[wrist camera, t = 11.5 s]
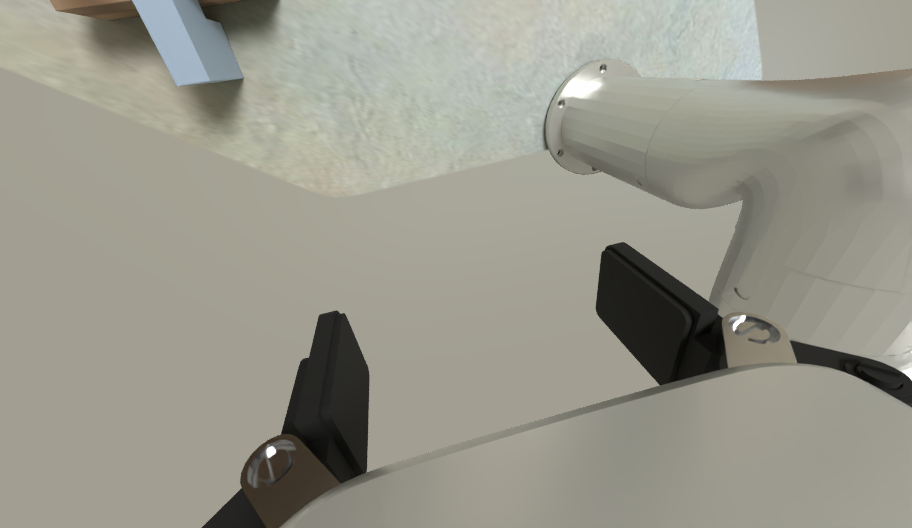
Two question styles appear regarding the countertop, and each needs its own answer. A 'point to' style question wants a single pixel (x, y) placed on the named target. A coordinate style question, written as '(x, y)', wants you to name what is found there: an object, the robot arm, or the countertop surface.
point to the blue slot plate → (189, 42)
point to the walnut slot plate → (112, 7)
